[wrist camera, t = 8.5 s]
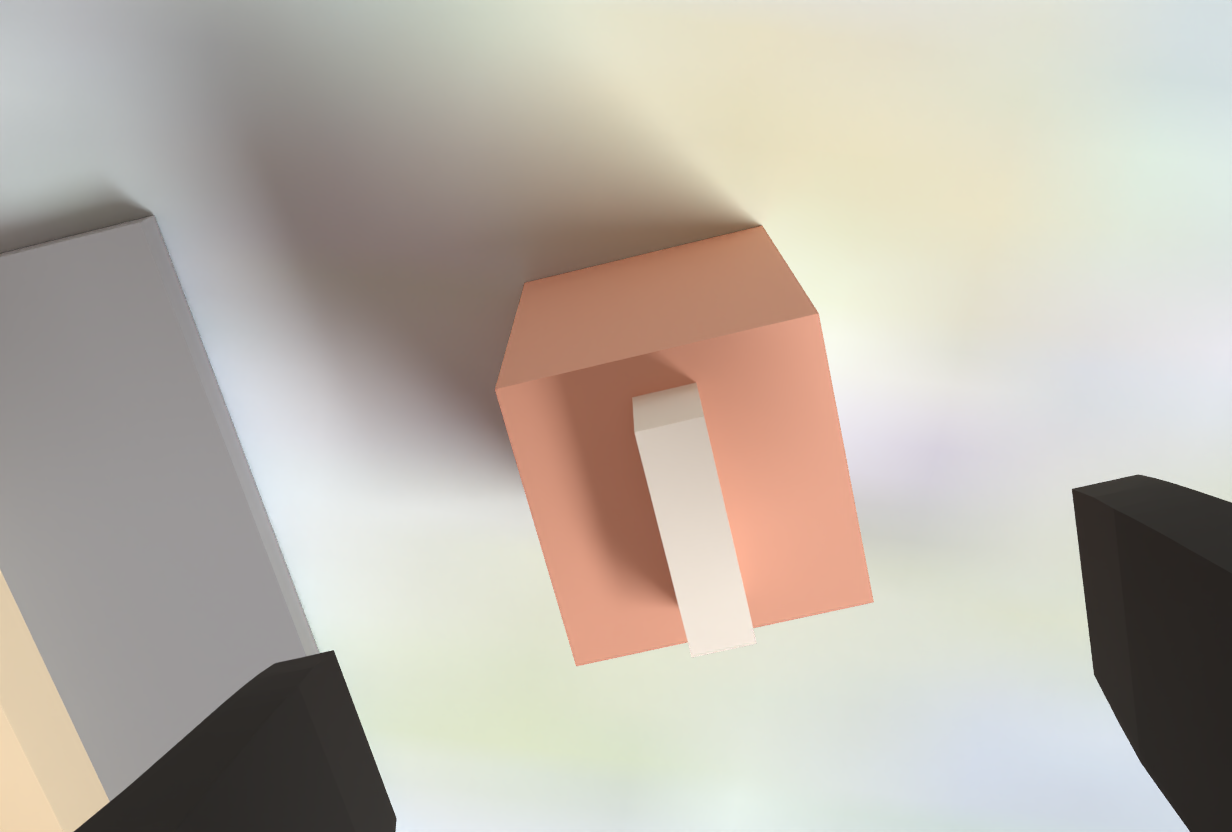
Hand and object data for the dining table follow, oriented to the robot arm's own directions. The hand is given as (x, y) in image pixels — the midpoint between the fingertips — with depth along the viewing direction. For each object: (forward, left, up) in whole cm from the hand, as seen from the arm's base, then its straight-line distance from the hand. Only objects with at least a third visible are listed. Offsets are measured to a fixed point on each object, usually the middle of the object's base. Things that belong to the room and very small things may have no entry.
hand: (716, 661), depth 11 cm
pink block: (0, 0, -9) cm, 9 cm away
